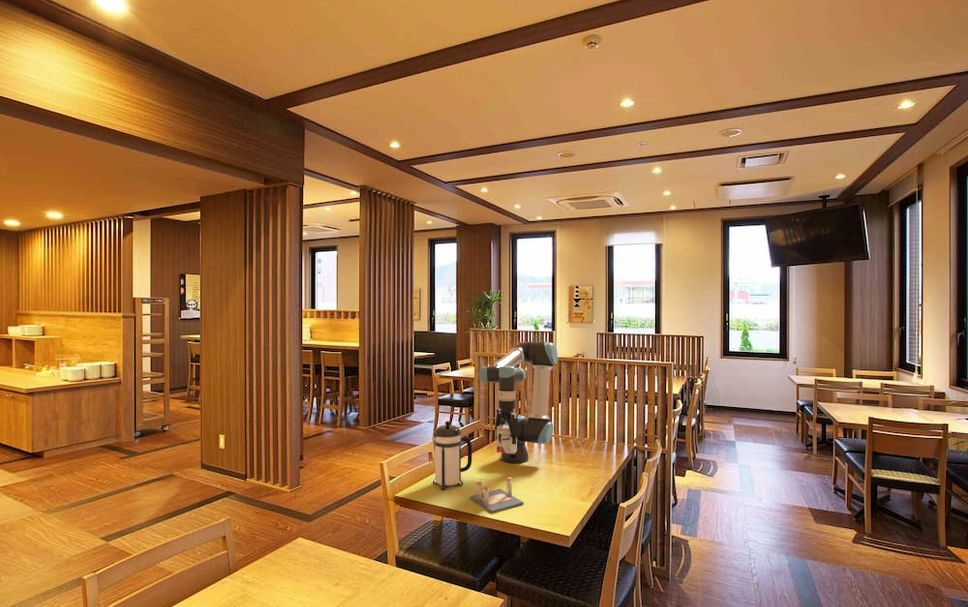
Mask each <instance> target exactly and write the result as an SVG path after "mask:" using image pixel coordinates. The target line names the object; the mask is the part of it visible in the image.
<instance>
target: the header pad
mask: <svg viewBox="0 0 968 607" xmlns="http://www.w3.org/2000/svg"><path fill="white" fill-rule="evenodd" d="M512 480H513V478H512V477H511V476H508V477H506V491H505V490H503V489H501V488H497V489H494V490H490V491H489V485H483V492H482V481H476V482H475V485H476V486H475V487H476V488H475V494H474V495H469V499H470V501H472V502H474V503H475V504H477V505H479V506H480V507H481V508H483V509H485V510H486V511H488V512H489V513H491V514H495V513H499V512H502V511H506V510H509V509H512V508H515V507H520V506H524V504H525V502H524V501H522V500H520V499H519V498H517V497H515V496H514V495H513V494H512V493H513V490H512V488H513V486H512Z"/></svg>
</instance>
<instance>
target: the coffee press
mask: <svg viewBox="0 0 968 607" xmlns="http://www.w3.org/2000/svg"><path fill="white" fill-rule="evenodd" d="M450 424H451V422H450V421H449V420H447V421H445V423H444V425H443V424H442V425H440V426H438V427H436V428H435V430H434V432H433V436H432V441H433V442H434V443H433V444H434V479H433V481H432V484H434V485H435V484H438V485H440V486H441V487H440V490H441V491H445V490H446V486H454V485H458V486H459V487H463V485H464V482H463V481H462V473H463V472H467V471H468V470H469V469H470V468H471V467H472V462H473V457H472V456H473V449H472V448H473V447H472V446H473V445H472V442H471V440H470V439H469V438H468V437H461V435H462V431H461V429H460V427H458V426H457V425H454V424H453V425H452V424H451V425H450ZM462 442H466V445H467V463H466V465H465V466H464V467H462V465H461V463H462V459H461V458H462V454H461V451H462V448H461V445H462Z"/></svg>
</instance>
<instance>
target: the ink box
mask: <svg viewBox="0 0 968 607" xmlns="http://www.w3.org/2000/svg"><path fill="white" fill-rule="evenodd" d="M510 436H511V433H510V429H509V426H508V425H499V426H497V430H496V453H500V454H501V453H510V454H514V453H515V452H516V451H517V437H516V451H512V452H511V451H510Z"/></svg>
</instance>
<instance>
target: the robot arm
mask: <svg viewBox="0 0 968 607" xmlns="http://www.w3.org/2000/svg"><path fill="white" fill-rule="evenodd" d="M558 358H559V355H558V349H557V346H556V344H555V343H552V342H547V341H545V342H544V341H525V342H521V343H519V344H517V345H515V346H513V347H511V348H510V349H509V351H508V353H507V354H505V355H504V356H502V357H501V358H499V360H497V361H496V362H494V363H492V364H491V365H490V366H482V367H480V370H479V373H478V375H479V379H480V381H481V382H485V383H494V384H495V383H496V384H497V383H498V399H499V400H498V409H496V416H495V424H494V430H496V431H497V427H498V426H499V425H508V426H509V429H510V433H511V436H510V451H511V452H512V451H516V437H517V451H516V452H515V453H514V454H510V453H500V460H501V461H502V462H504V463H508V464H522V463H526V462H528V461H529V452H528V450H527V447H526V443H533V444H538V445H547V444H549V442H550V441H551V439H552V437H553V434H554V423H553V422H552V421H551V418H550V416H549V415H548V411H549V410H548V409H549V396H550V380H551V370H553V369H554V365H557V363H558ZM523 363H527V364H531V366H532V368H533V369H534V371H533V372H534V373H533V384H532V386H533V388H532V400H531V401H532V404H531V413H530V414H529V416H527V417H528V419H526V416H525V415H518V413H514V409H515V408H516V401H515V399H516V385H519V384H521V383H523V382H524V381H525V379H526V378H527V374H526V371H525V370H524V369H523V368H522V367H515V366H517V365H520V364H523Z"/></svg>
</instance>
